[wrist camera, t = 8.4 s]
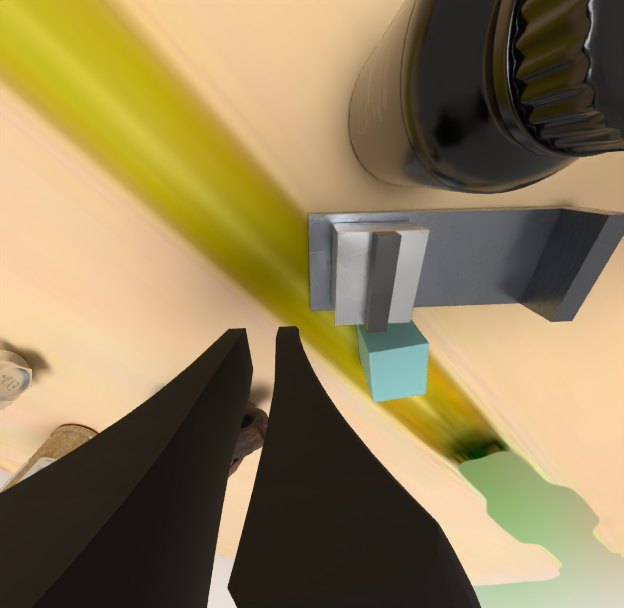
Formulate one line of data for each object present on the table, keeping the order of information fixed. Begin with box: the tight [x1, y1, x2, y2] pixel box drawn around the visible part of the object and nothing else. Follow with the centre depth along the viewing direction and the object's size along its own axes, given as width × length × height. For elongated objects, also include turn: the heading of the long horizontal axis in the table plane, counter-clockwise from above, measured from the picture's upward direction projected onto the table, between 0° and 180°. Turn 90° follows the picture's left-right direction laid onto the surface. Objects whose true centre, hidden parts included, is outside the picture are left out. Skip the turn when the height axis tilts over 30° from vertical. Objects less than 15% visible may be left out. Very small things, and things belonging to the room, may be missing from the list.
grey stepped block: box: [331, 221, 429, 333], centre depth 15 cm, size 5×6×4 cm
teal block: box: [356, 320, 429, 402], centre depth 19 cm, size 4×5×4 cm
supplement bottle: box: [349, 0, 624, 194], centre depth 8 cm, size 7×7×12 cm
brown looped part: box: [228, 401, 268, 478], centre depth 22 cm, size 12×9×8 cm
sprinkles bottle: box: [0, 425, 97, 493], centre depth 20 cm, size 5×5×13 cm
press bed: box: [308, 206, 624, 322], centre depth 16 cm, size 18×7×4 cm, turn 91°
